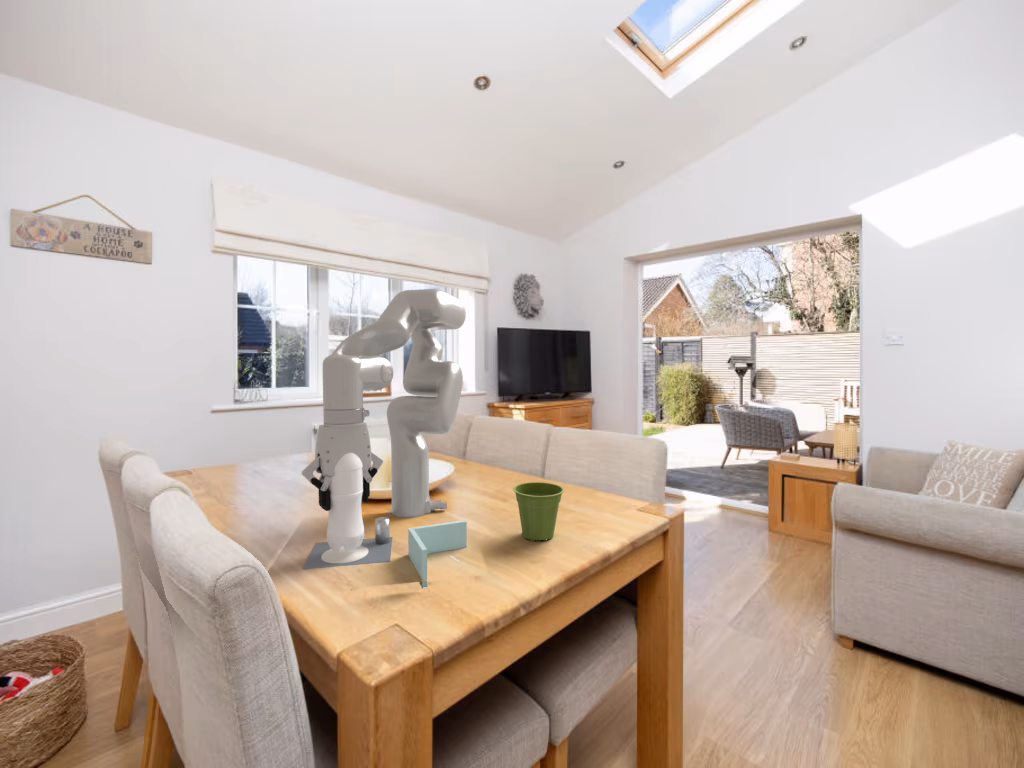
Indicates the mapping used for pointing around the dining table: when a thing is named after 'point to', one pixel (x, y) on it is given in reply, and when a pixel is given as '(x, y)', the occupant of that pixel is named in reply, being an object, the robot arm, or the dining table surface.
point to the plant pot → (538, 508)
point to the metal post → (382, 530)
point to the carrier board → (348, 555)
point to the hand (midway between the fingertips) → (345, 504)
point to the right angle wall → (434, 542)
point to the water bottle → (346, 504)
